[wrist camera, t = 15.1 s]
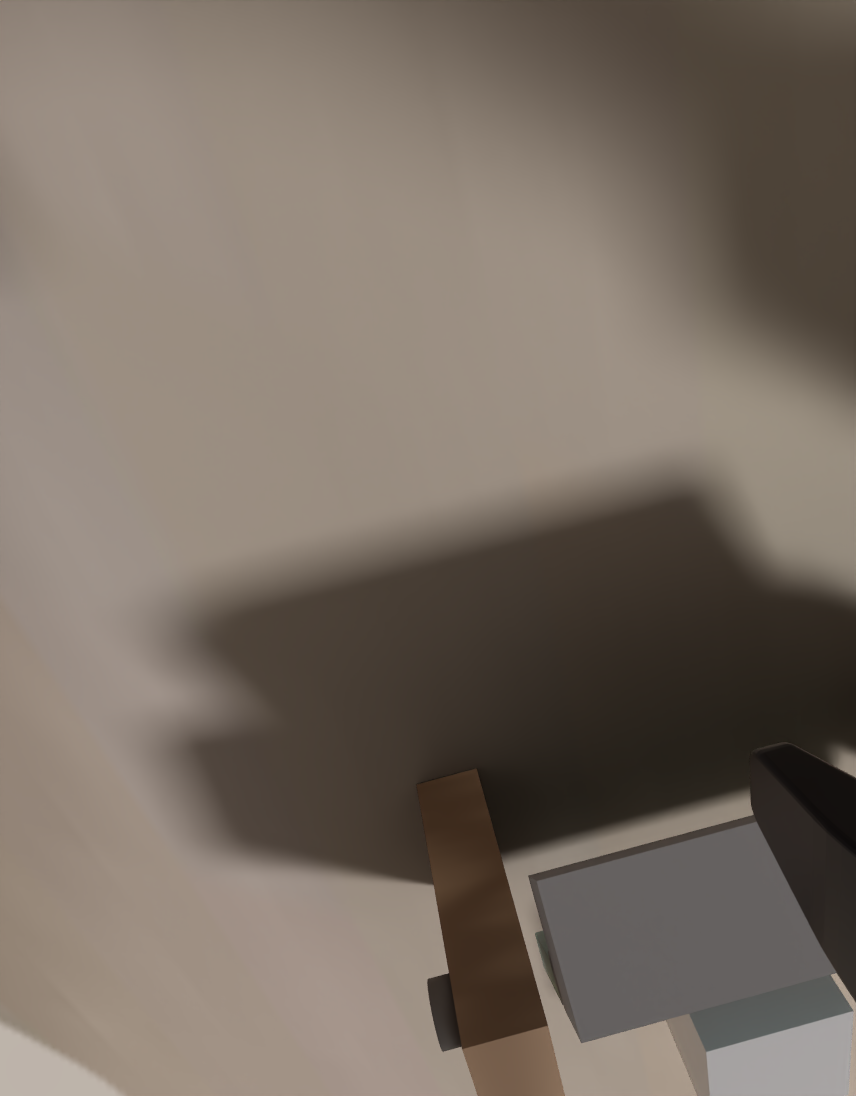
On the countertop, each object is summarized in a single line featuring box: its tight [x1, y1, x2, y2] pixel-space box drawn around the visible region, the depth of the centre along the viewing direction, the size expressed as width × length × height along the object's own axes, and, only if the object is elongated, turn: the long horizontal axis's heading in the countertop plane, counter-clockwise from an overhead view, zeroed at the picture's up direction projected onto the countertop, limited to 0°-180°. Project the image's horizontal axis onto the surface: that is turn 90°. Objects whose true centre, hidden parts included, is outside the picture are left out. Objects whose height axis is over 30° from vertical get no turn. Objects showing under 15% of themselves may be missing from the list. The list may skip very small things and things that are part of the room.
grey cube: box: [666, 975, 853, 1096], centre depth 29 cm, size 5×5×5 cm
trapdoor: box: [528, 815, 836, 1043], centre depth 21 cm, size 14×11×3 cm
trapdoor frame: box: [416, 768, 565, 1096], centre depth 23 cm, size 20×5×8 cm, turn 103°
